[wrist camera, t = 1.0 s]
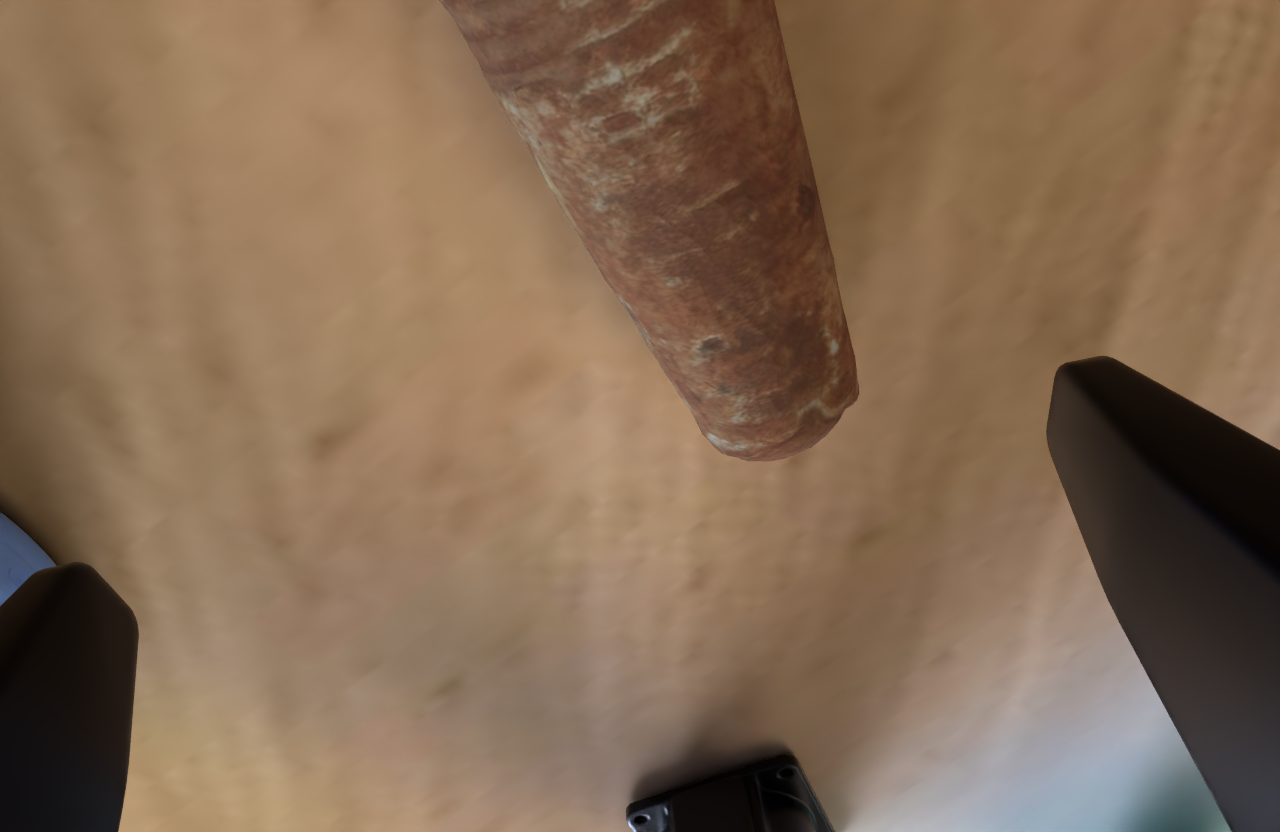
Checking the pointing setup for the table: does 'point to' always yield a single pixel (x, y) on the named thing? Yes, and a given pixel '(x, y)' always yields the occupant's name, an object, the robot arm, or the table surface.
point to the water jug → (18, 558)
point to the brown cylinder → (686, 196)
